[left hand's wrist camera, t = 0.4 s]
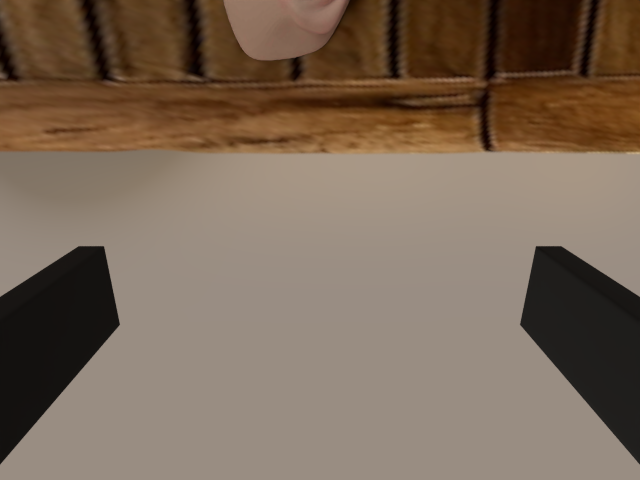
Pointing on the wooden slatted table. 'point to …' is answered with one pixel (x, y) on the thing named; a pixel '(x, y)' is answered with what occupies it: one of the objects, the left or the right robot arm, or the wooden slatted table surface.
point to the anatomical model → (283, 25)
